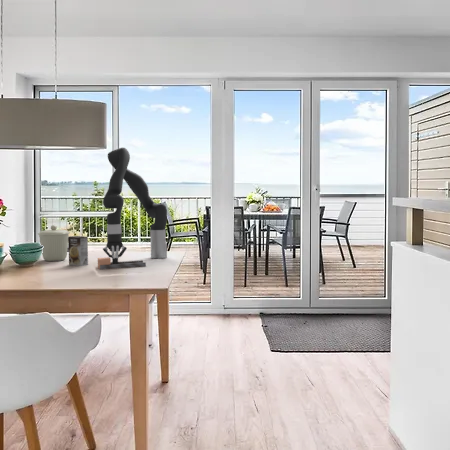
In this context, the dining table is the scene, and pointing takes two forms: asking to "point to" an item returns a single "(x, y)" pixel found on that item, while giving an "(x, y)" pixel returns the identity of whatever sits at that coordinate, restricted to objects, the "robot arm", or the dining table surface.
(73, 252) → the coffee box
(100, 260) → the block
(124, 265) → the chute
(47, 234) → the canister
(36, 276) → the dining table surface
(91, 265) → the dining table surface
